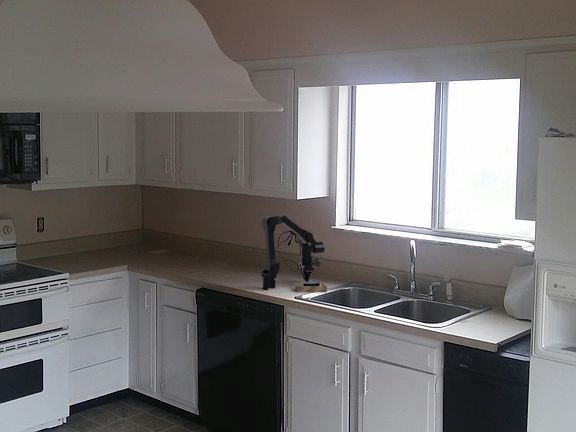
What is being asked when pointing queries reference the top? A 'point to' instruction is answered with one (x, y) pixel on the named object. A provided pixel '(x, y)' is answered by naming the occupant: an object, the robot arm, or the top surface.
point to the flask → (311, 283)
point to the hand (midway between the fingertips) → (306, 281)
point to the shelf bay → (311, 288)
